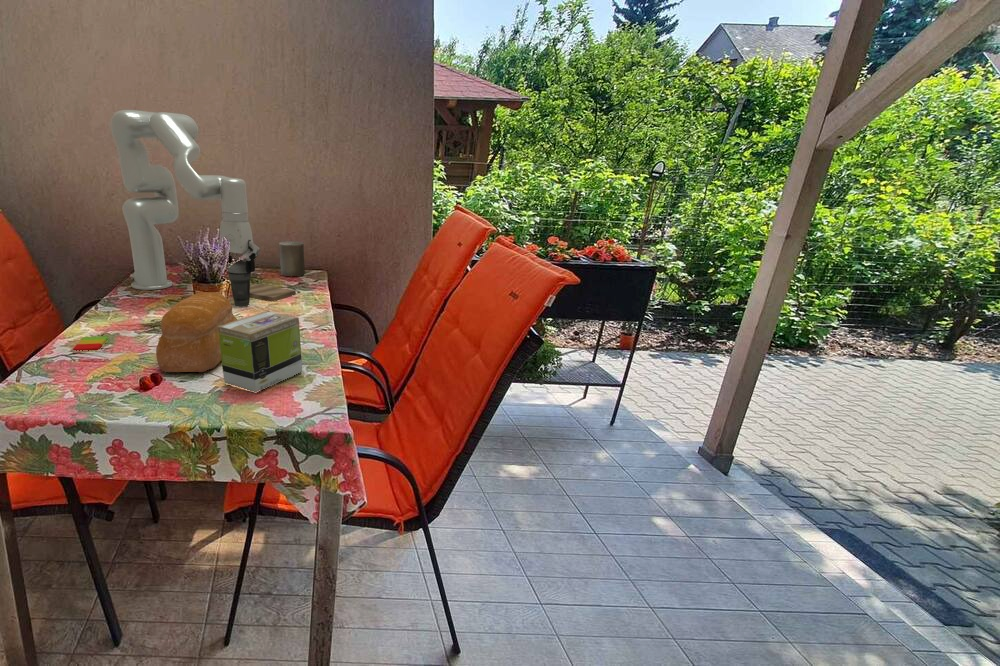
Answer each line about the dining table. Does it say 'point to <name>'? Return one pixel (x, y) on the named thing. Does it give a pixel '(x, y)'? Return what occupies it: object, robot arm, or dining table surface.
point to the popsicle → (90, 343)
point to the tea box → (260, 350)
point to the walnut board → (269, 292)
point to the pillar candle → (292, 258)
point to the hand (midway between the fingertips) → (239, 269)
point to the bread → (193, 333)
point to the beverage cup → (240, 283)
